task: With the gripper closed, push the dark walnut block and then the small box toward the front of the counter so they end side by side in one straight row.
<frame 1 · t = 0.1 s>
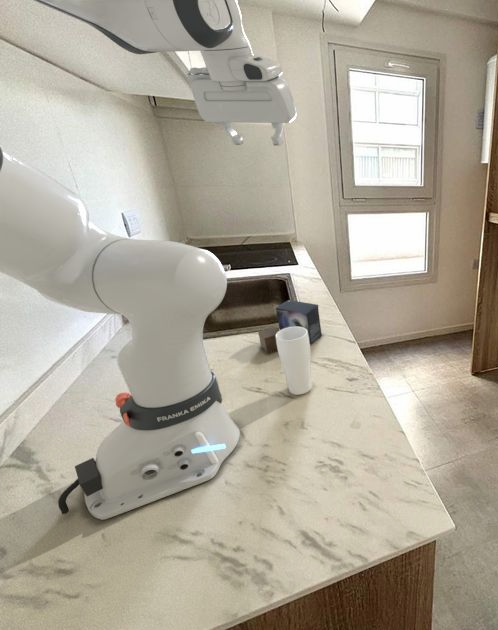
hand: (258, 144, 73), 52 cm above the counter, tool tilted 20°, fingers open, 8 cm apart
drinking glass: (301, 389, 78), on the counter
small box: (301, 337, 100), on the counter
walnut block: (273, 347, 95), on the counter
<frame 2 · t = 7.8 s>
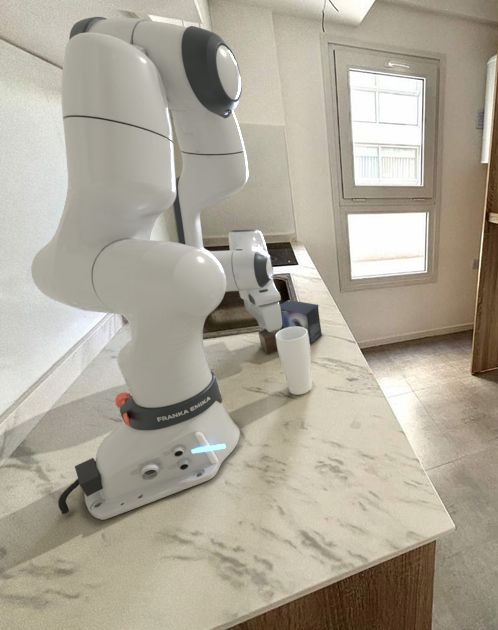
hand: (266, 333, 96), 3 cm above the counter, tool pointing down, fingers closed
walnut block: (273, 347, 95), on the counter, touching gripper
everything else where it was.
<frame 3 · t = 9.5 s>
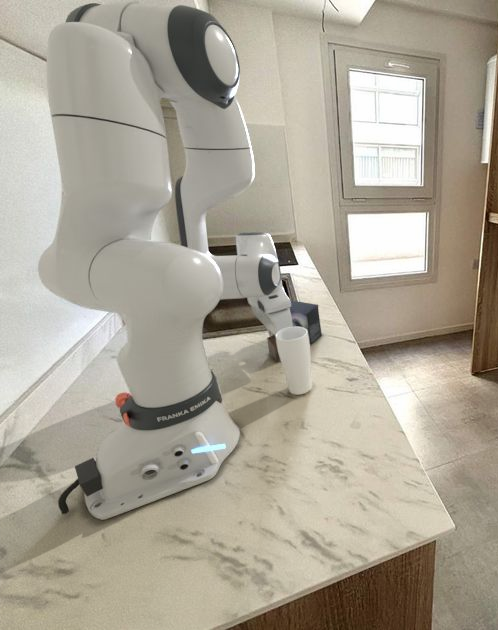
hand: (274, 339, 92), 3 cm above the counter, tool pointing down, fingers closed
walnut block: (282, 353, 91), on the counter, tilted 7°, touching gripper
everything else where it was.
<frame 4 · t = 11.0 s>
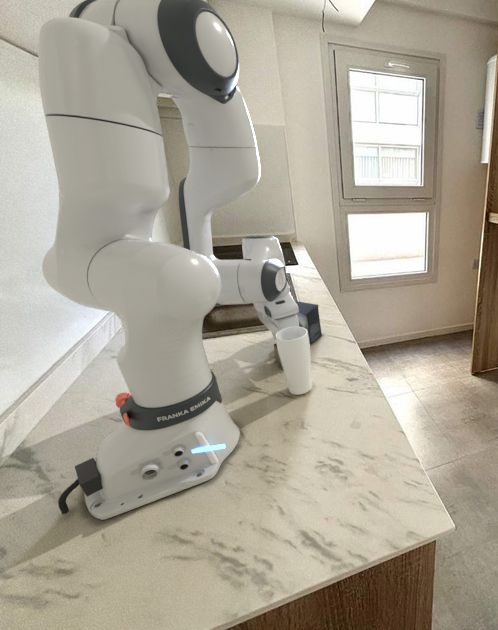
hand: (281, 345, 89), 3 cm above the counter, tool pointing down, fingers closed
walnut block: (288, 360, 88), on the counter, tilted 8°, touching gripper
everything else where it was.
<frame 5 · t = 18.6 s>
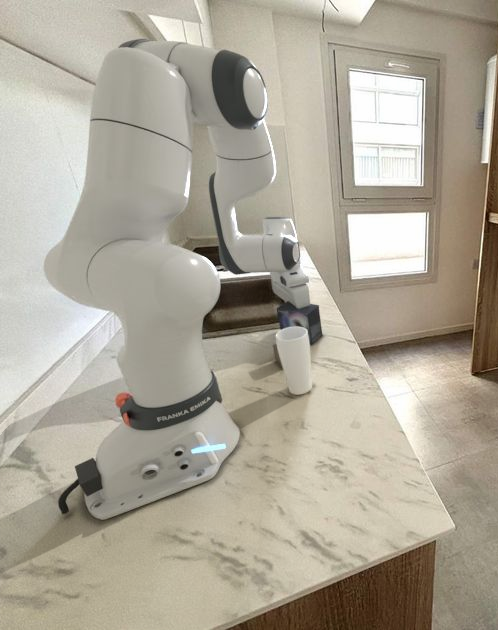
hand: (292, 314, 104), 5 cm above the counter, tool pointing down, fingers closed
small box: (302, 338, 100), on the counter, touching gripper
walnut block: (288, 361, 88), on the counter
everything else where it was.
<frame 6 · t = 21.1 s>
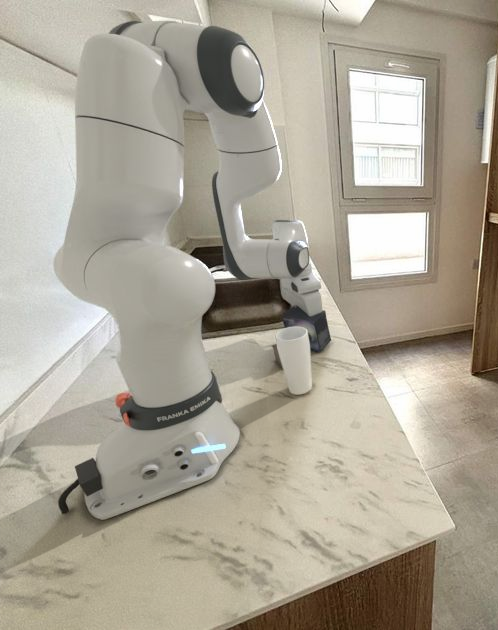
hand: (303, 320, 99), 5 cm above the counter, tool pointing down, fingers closed
small box: (310, 343, 97), on the counter, touching gripper
everything else where it was.
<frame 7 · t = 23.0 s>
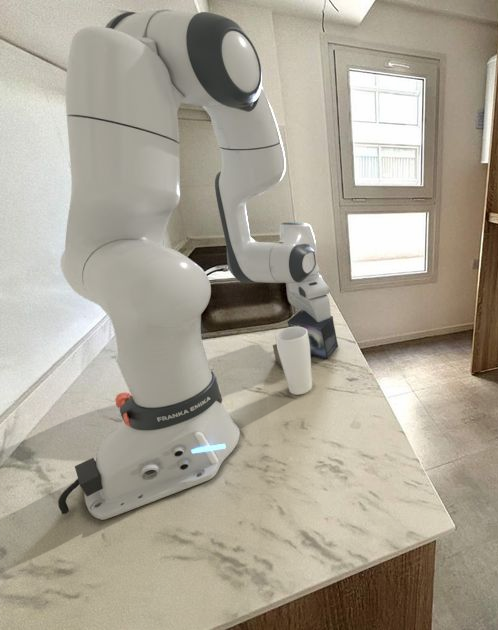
hand: (310, 326, 96), 5 cm above the counter, tool pointing down, fingers closed
small box: (317, 349, 94), on the counter, touching gripper
everything else where it was.
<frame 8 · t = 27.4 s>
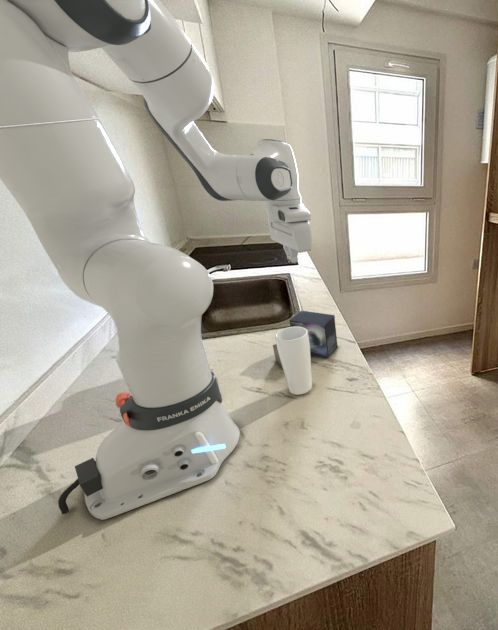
hand: (292, 261, 92), 23 cm above the counter, tool pointing down, fingers closed
small box: (316, 350, 94), on the counter
everything else where it was.
at the end: walnut block 0.4 cm from the target spot, on the counter; small box 1.5 cm from the target spot, on the counter; small box tilted 0° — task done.
